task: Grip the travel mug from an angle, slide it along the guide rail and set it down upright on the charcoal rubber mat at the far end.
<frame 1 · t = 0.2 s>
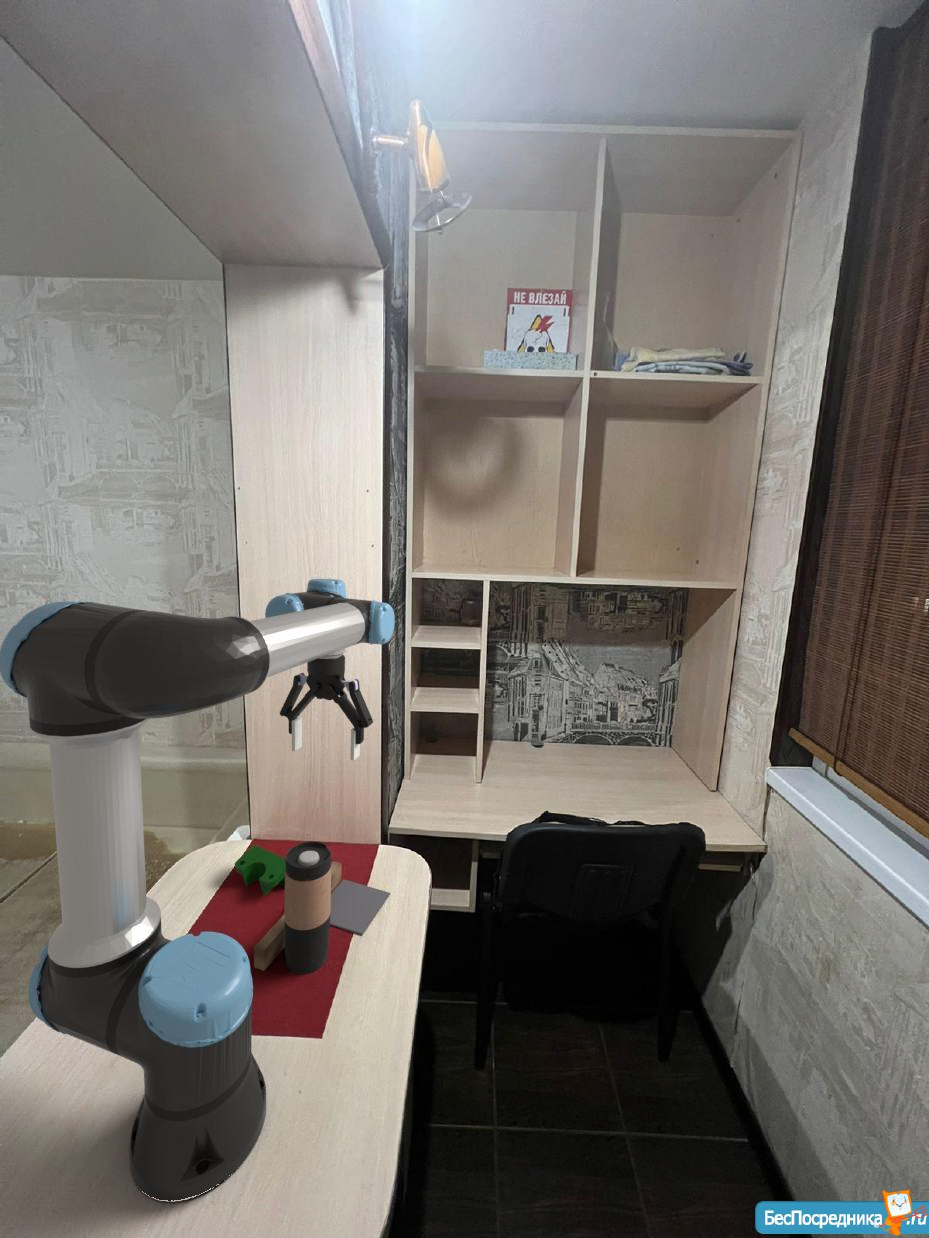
hand: (325, 753, 110), 27 cm above the table, tool pointing down, fingers open, 13 cm apart
clamp: (264, 885, 109), on the table
end mat: (352, 906, 105), on the table
guide rail: (302, 918, 100), on the table
travel mug: (307, 958, 92), on the table
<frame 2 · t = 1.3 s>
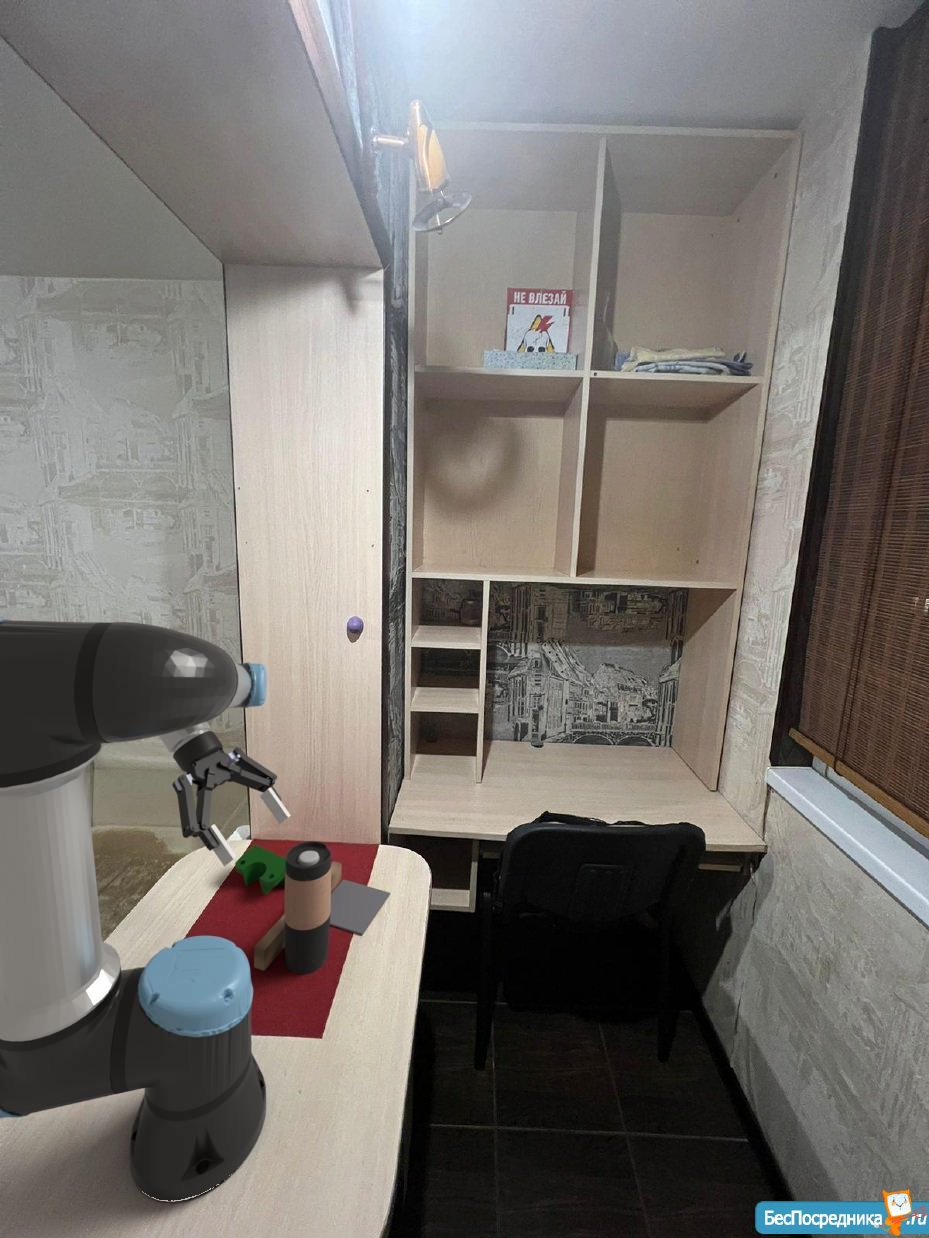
hand: (259, 839, 92), 20 cm above the table, tool tilted 45°, fingers open, 13 cm apart
nothing on the table moved.
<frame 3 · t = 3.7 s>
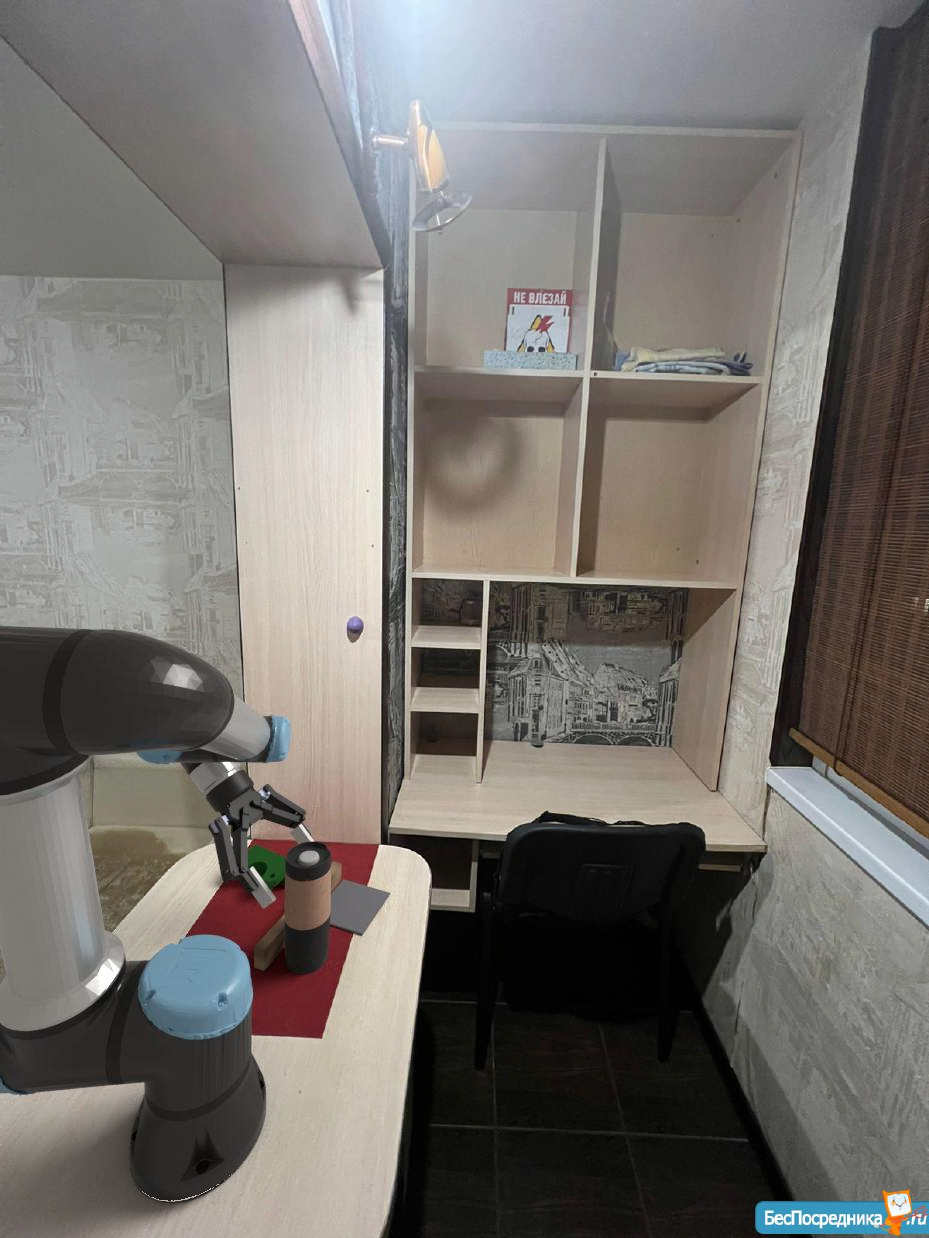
hand: (294, 878, 92), 13 cm above the table, tool tilted 45°, fingers open, 13 cm apart
nothing on the table moved.
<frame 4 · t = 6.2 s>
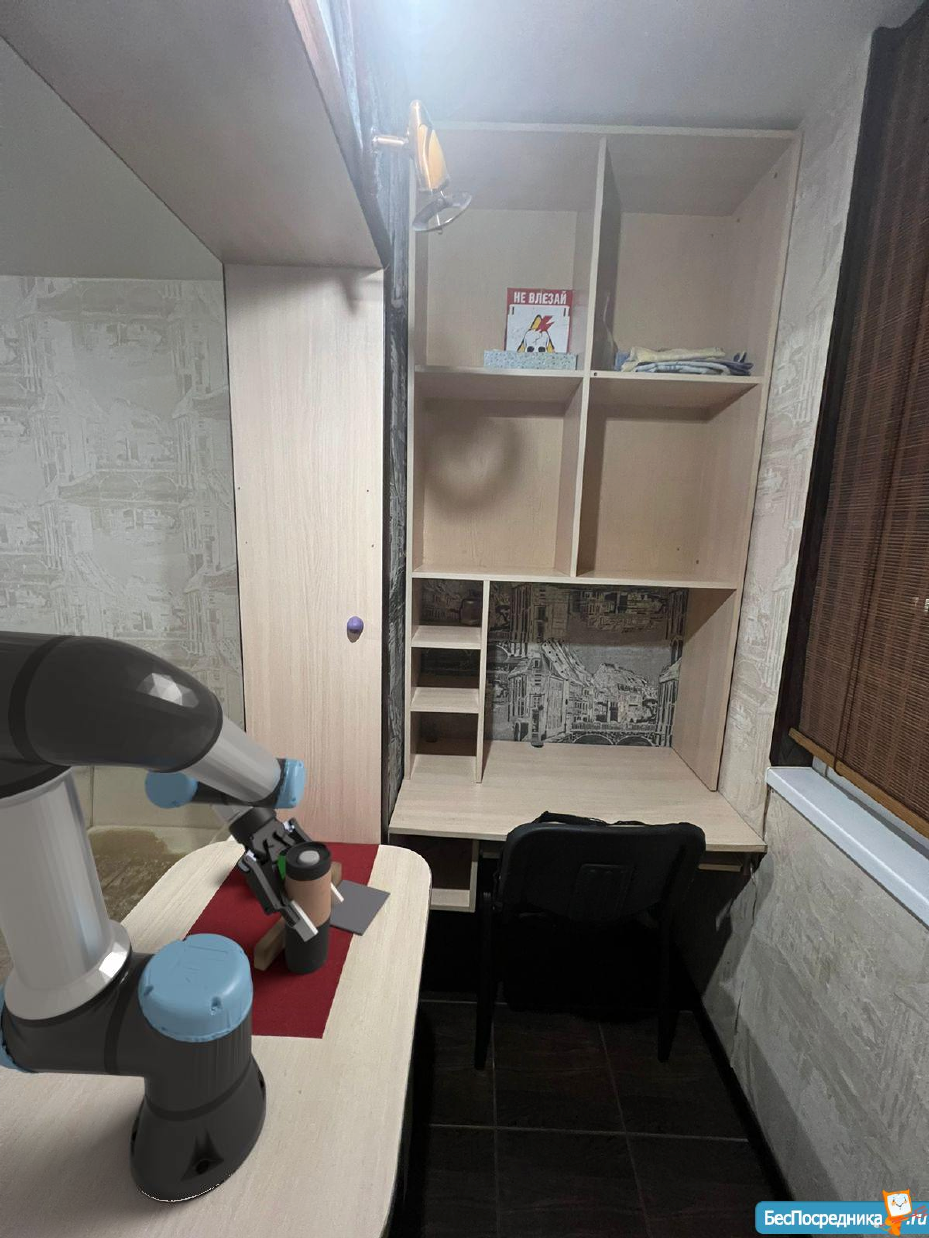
hand: (325, 919, 89), 9 cm above the table, tool tilted 45°, fingers closed on travel mug, 7 cm apart
travel mug: (307, 958, 92), on the table, touching gripper
everything else where it was.
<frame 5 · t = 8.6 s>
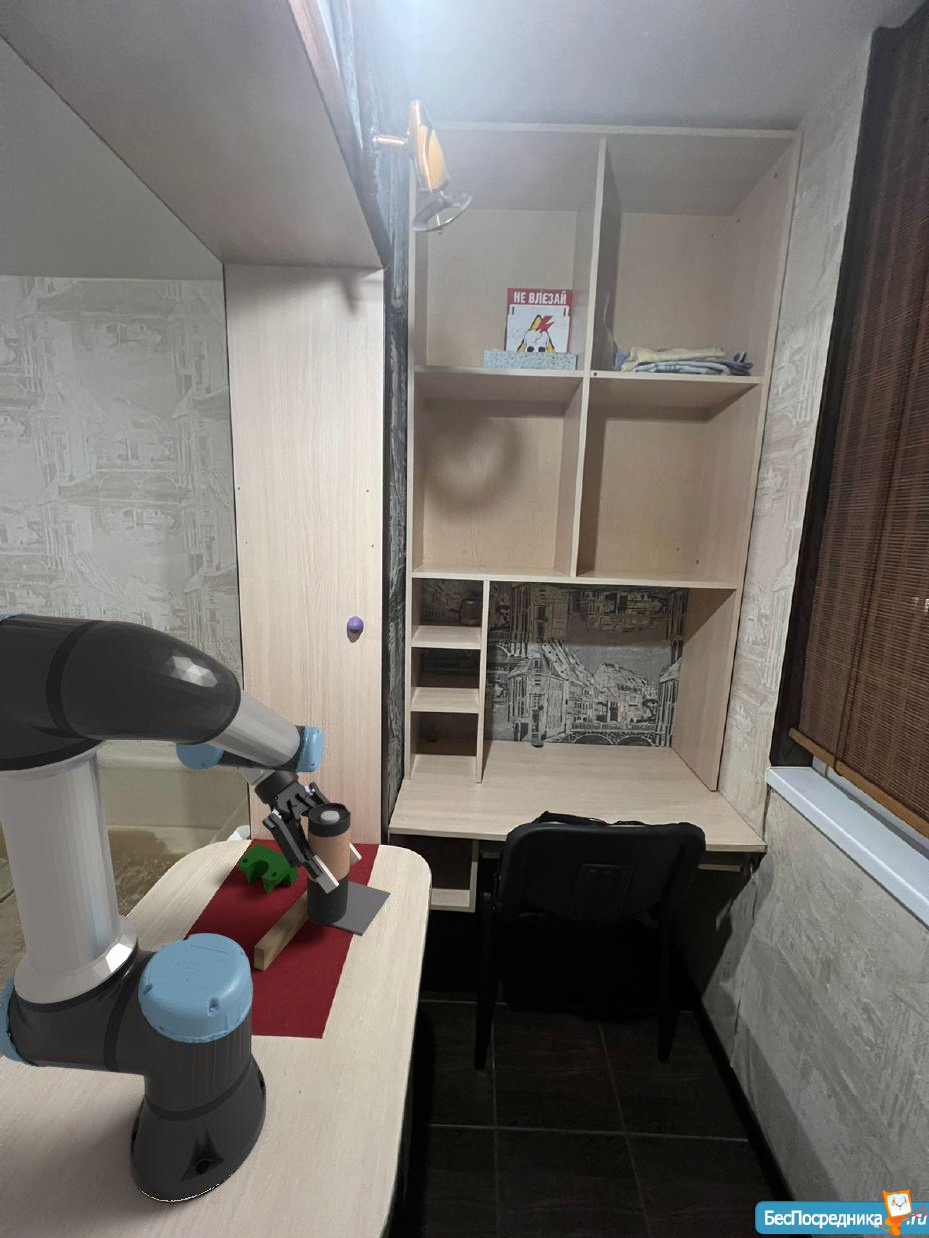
hand: (344, 874, 95), 12 cm above the table, tool tilted 45°, fingers closed on travel mug, 7 cm apart
travel mug: (327, 912, 98), point 3 cm above the table, touching gripper
everything else where it was.
when the fingers open (10 cm above the table, at t = 11.1 s): travel mug stays where it is, resting on end mat.
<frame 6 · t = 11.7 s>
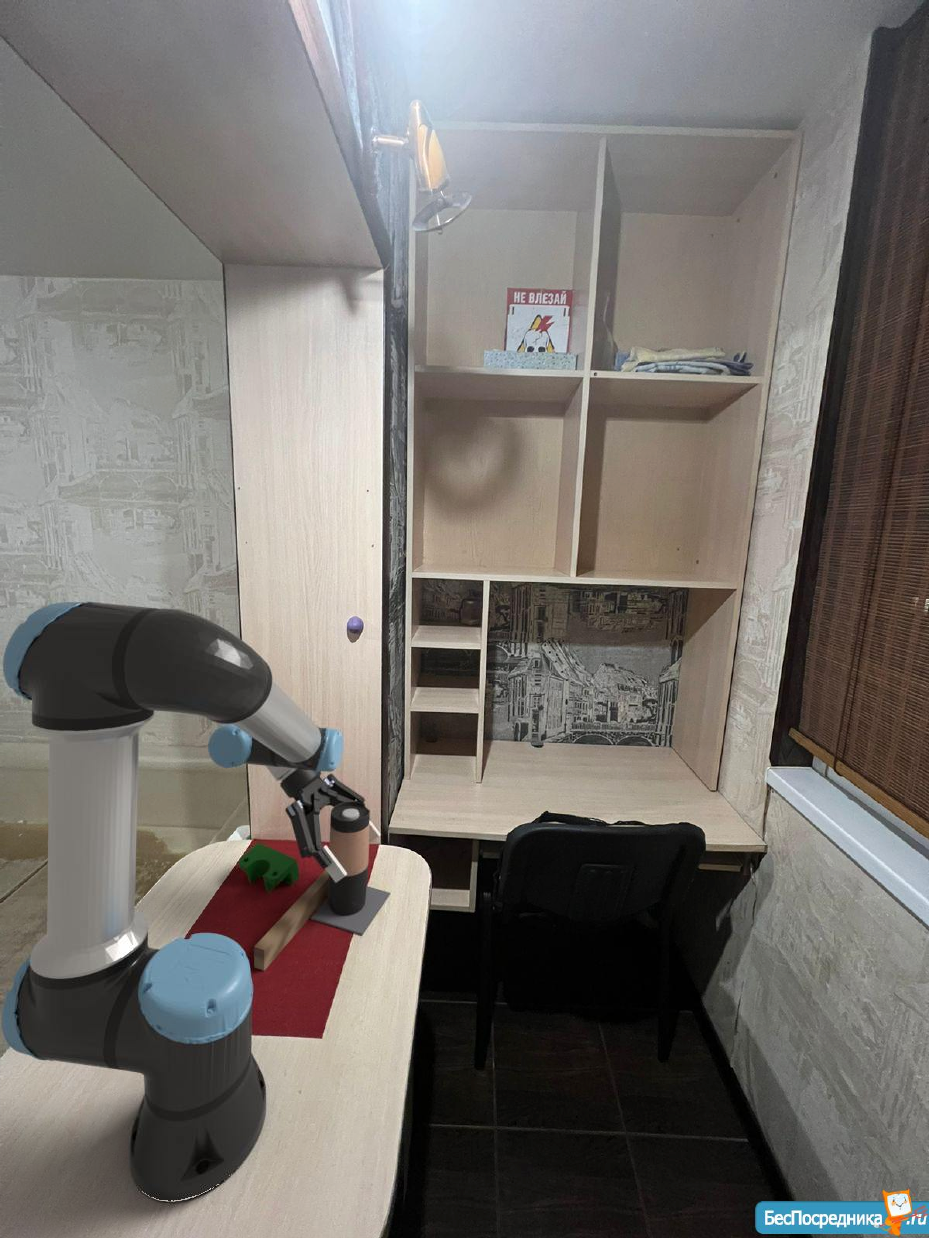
hand: (359, 857, 102), 11 cm above the table, tool tilted 45°, fingers open, 13 cm apart
travel mug: (347, 903, 105), resting on end mat
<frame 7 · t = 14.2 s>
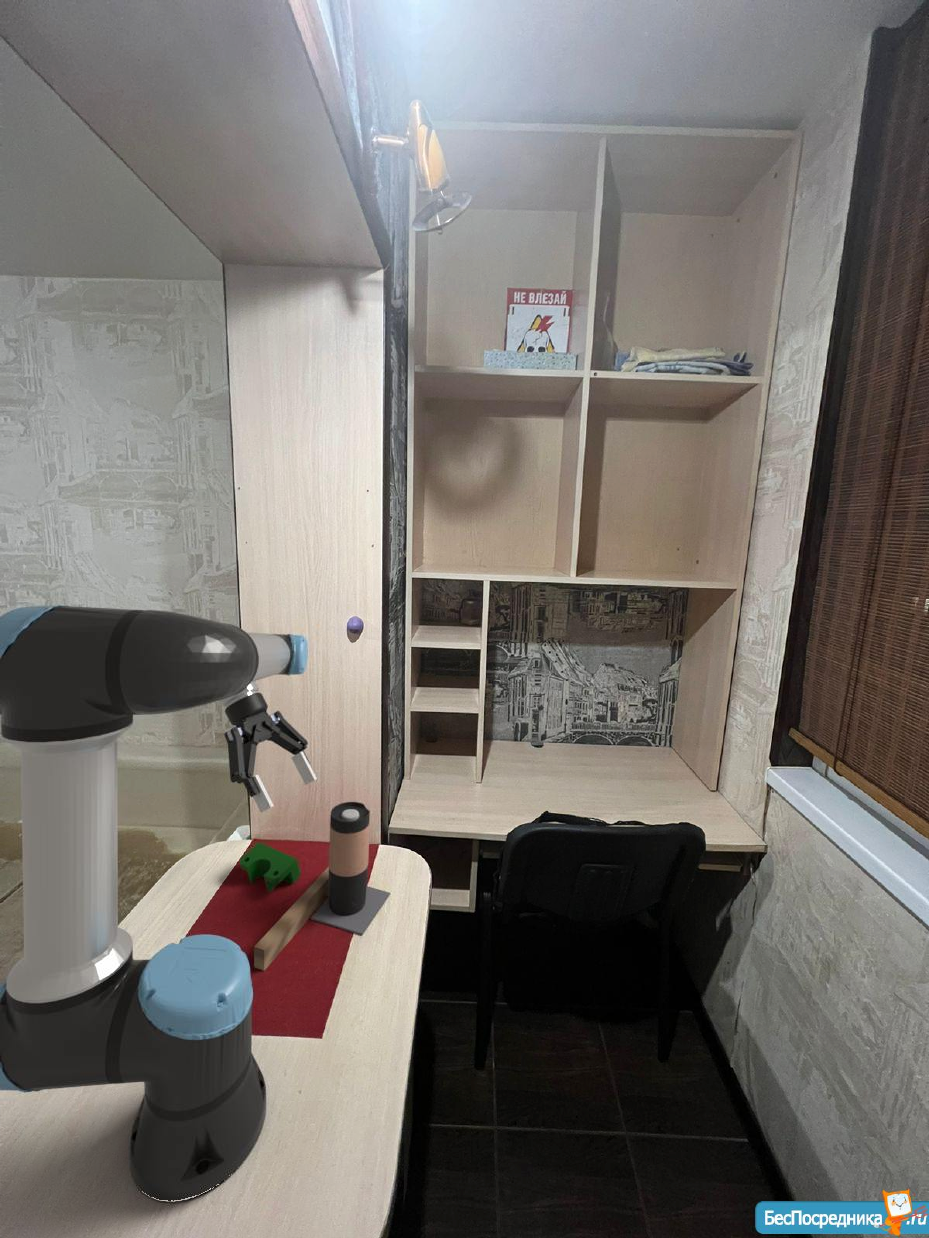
hand: (290, 794, 103), 22 cm above the table, tool tilted 35°, fingers open, 13 cm apart
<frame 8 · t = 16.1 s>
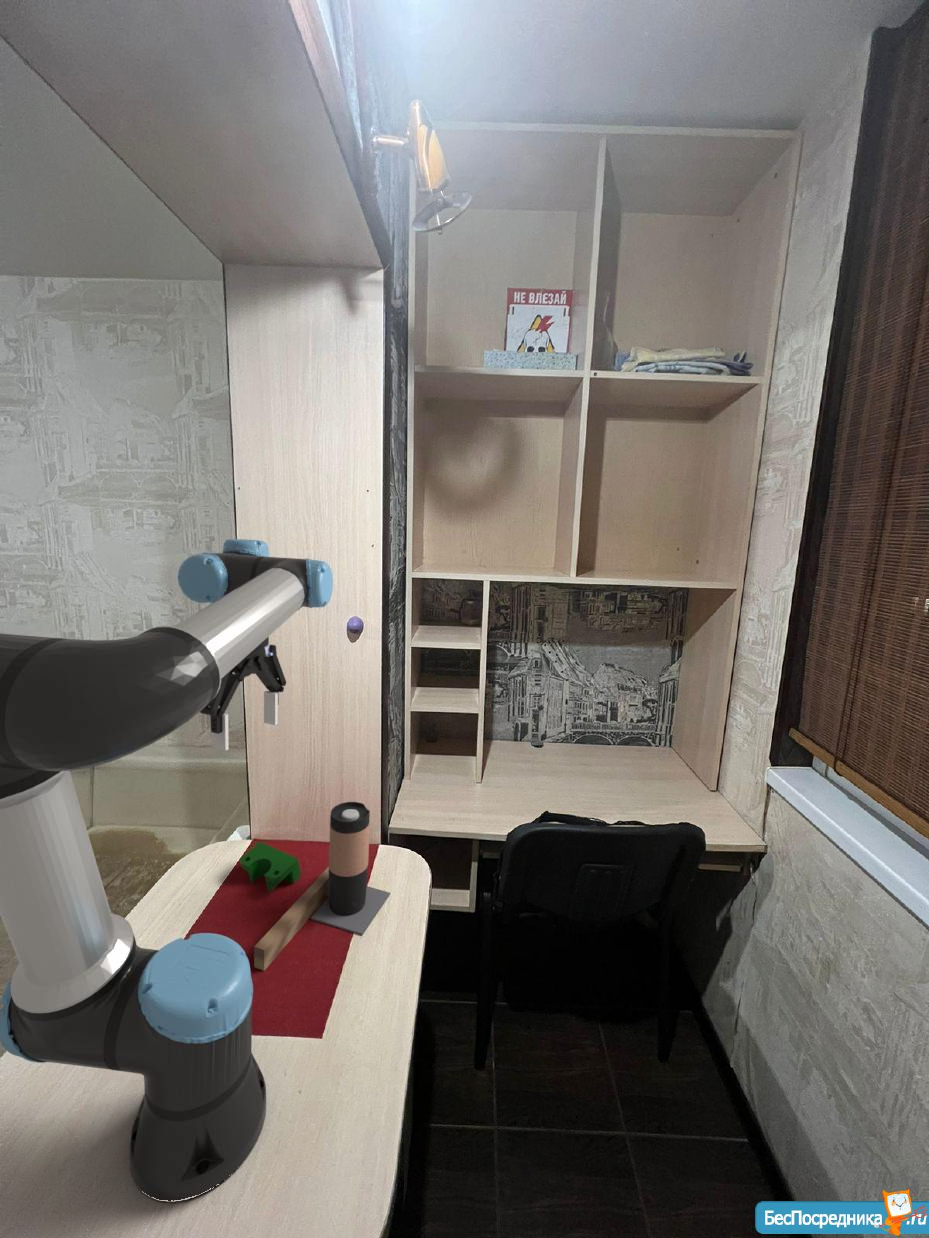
hand: (247, 735, 99), 35 cm above the table, tool pointing down, fingers open, 13 cm apart
at the end: travel mug inside the target area (0.1 cm from its centre), resting on end mat; travel mug tilted 0°; the gripper is holding nothing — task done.
